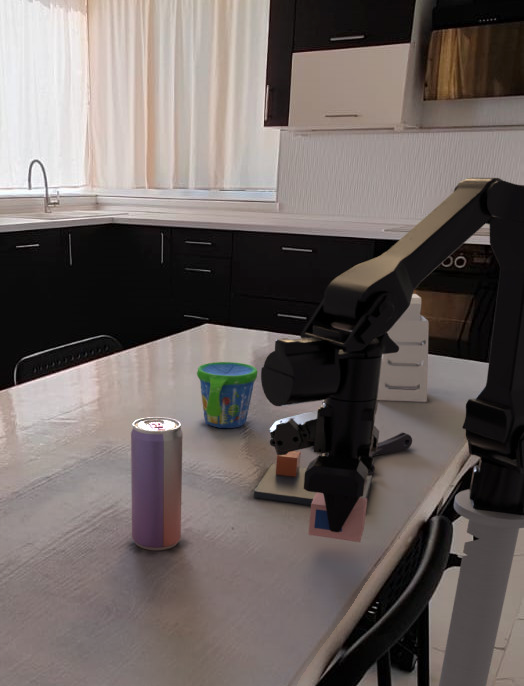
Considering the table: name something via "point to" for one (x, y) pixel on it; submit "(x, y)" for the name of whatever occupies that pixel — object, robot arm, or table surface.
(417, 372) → the grater
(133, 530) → the beverage can
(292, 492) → the tray
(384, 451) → the squeegee
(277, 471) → the clay cube
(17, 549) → the table surface
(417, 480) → the table surface
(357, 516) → the eraser
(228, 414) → the snack cup
